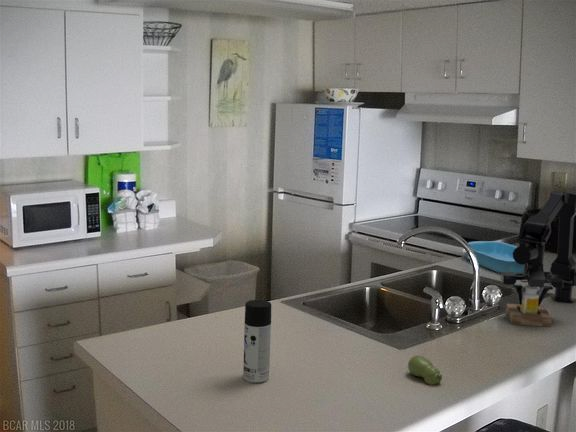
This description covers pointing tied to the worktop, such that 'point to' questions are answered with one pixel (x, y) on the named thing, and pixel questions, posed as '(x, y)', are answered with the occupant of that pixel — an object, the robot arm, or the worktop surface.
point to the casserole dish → (496, 256)
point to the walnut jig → (528, 316)
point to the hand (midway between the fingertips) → (529, 304)
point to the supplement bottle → (529, 300)
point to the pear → (424, 369)
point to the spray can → (257, 341)
